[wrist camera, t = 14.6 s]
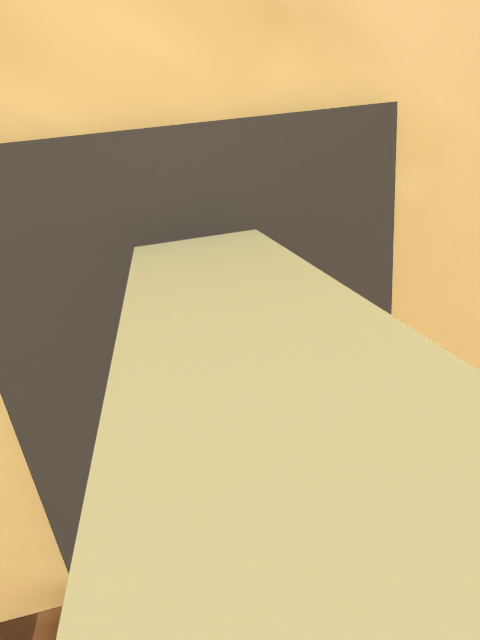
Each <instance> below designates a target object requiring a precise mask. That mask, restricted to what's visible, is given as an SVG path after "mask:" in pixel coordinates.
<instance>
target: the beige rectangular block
mask: <svg viewBox="0 0 480 640" xmlns="http://www.w3.org/2000/svg"><path fill="white" fill-rule="evenodd" d="M56 640H480V371H479V370H477V369H476V368H474V367H472V366H471V365H469V364H468V363H466V362H465V361H463V360H461V359H460V358H458V357H457V356H455V355H453V354H452V353H450V352H449V351H447V350H446V349H444V348H442V347H441V346H439V345H438V344H436V343H435V342H433V341H431V340H430V339H428V338H427V337H425V336H423V335H422V334H420V333H419V332H417V331H416V330H414V329H412V328H411V327H409V326H408V325H406V324H405V323H403V322H401V321H400V320H398V319H397V318H395V317H393V316H392V315H390V314H389V313H387V312H386V311H384V310H382V309H381V308H379V307H378V306H376V305H375V304H373V303H371V302H370V301H368V300H367V299H365V298H364V297H362V296H360V295H359V294H357V293H356V292H354V291H352V290H351V289H349V288H348V287H346V286H345V285H343V284H341V283H340V282H338V281H337V280H335V279H334V278H332V277H330V276H329V275H327V274H326V273H324V272H322V271H321V270H319V269H318V268H316V267H315V266H313V265H311V264H310V263H308V262H307V261H305V260H304V259H302V258H300V257H299V256H297V255H296V254H294V253H292V252H291V251H289V250H288V249H286V248H285V247H283V246H281V245H280V244H278V243H277V242H275V241H274V240H272V239H270V238H269V237H267V236H266V235H264V234H262V233H261V232H259V231H258V230H256V229H255V230H248V231H241V232H234V233H227V234H221V235H214V236H207V237H200V238H193V239H187V240H180V241H173V242H166V243H159V244H153V245H146V246H139V247H134V252H133V257H132V262H131V267H130V272H129V277H128V282H127V287H126V292H125V297H124V302H123V307H122V312H121V317H120V322H119V327H118V332H117V337H116V342H115V347H114V352H113V357H112V362H111V367H110V372H109V377H108V382H107V387H106V392H105V397H104V402H103V407H102V412H101V417H100V422H99V427H98V432H97V437H96V442H95V447H94V452H93V457H92V462H91V467H90V472H89V477H88V482H87V487H86V492H85V497H84V502H83V507H82V512H81V517H80V522H79V527H78V532H77V537H76V542H75V547H74V552H73V557H72V562H71V567H70V572H69V577H68V582H67V587H66V592H65V597H64V602H63V607H62V612H61V617H60V622H59V627H58V632H57V637H56Z"/></svg>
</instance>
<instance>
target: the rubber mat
mask: <svg viewBox="0 0 480 640" xmlns="http://www.w3.org/2000/svg"><path fill="white" fill-rule="evenodd" d="M396 131H397V102H388V103H379V104H369V105H360V106H350V107H341V108H331V109H322V110H313V111H303V112H294V113H284V114H275V115H265V116H256V117H247V118H237V119H228V120H218V121H209V122H199V123H190V124H181V125H171V126H162V127H152V128H143V129H133V130H124V131H115V132H105V133H96V134H86V135H77V136H67V137H58V138H48V139H39V140H30V141H20V142H11V143H1V144H0V393H1V396H2V399H3V401H4V404H5V407H6V409H7V412H8V414H9V417H10V420H11V422H12V425H13V428H14V430H15V433H16V436H17V438H18V441H19V444H20V446H21V449H22V452H23V454H24V457H25V459H26V462H27V465H28V467H29V470H30V473H31V475H32V478H33V481H34V483H35V486H36V489H37V491H38V494H39V497H40V499H41V502H42V504H43V507H44V510H45V512H46V515H47V518H48V520H49V523H50V526H51V528H52V531H53V534H54V536H55V539H56V542H57V544H58V547H59V549H60V552H61V555H62V557H63V560H64V563H65V565H66V568H67V571H68V573H69V572H70V567H71V562H72V557H73V552H74V547H75V542H76V537H77V532H78V527H79V522H80V517H81V512H82V507H83V502H84V497H85V492H86V487H87V482H88V477H89V472H90V467H91V462H92V457H93V452H94V447H95V442H96V437H97V432H98V427H99V422H100V417H101V412H102V407H103V402H104V397H105V392H106V387H107V382H108V377H109V372H110V367H111V362H112V357H113V352H114V347H115V342H116V337H117V332H118V327H119V322H120V317H121V312H122V307H123V302H124V297H125V292H126V287H127V282H128V277H129V272H130V267H131V262H132V257H133V252H134V247H139V246H146V245H153V244H159V243H166V242H173V241H180V240H187V239H193V238H200V237H207V236H214V235H221V234H227V233H234V232H241V231H248V230H255V229H256V230H258V231H259V232H261V233H262V234H264V235H266V236H267V237H269V238H270V239H272V240H274V241H275V242H277V243H278V244H280V245H281V246H283V247H285V248H286V249H288V250H289V251H291V252H292V253H294V254H296V255H297V256H299V257H300V258H302V259H304V260H305V261H307V262H308V263H310V264H311V265H313V266H315V267H316V268H318V269H319V270H321V271H322V272H324V273H326V274H327V275H329V276H330V277H332V278H334V279H335V280H337V281H338V282H340V283H341V284H343V285H345V286H346V287H348V288H349V289H351V290H352V291H354V292H356V293H357V294H359V295H360V296H362V297H364V298H365V299H367V300H368V301H370V302H371V303H373V304H375V305H376V306H378V307H379V308H381V309H382V310H384V311H386V312H387V313H389V314H390V315H391V304H392V269H393V235H394V200H395V165H396Z"/></svg>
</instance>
